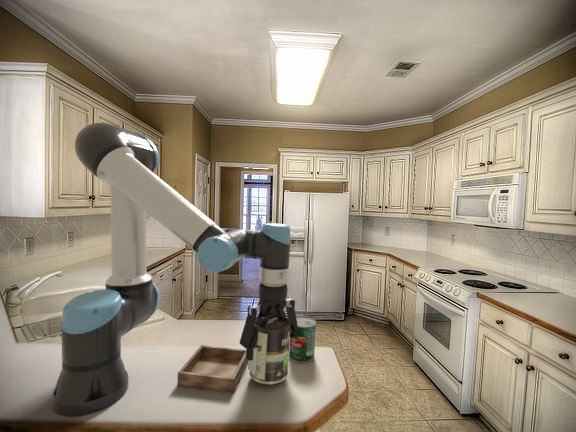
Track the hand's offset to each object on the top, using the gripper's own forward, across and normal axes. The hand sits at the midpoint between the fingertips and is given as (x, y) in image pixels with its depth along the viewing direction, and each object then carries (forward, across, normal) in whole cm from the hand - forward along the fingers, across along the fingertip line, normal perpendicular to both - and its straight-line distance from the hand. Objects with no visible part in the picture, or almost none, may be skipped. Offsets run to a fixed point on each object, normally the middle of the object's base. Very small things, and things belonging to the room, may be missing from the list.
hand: (268, 364), depth 80 cm
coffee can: (+3, 0, 0) cm, 3 cm away
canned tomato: (+4, +15, +4) cm, 16 cm away
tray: (+4, -10, +10) cm, 15 cm away
